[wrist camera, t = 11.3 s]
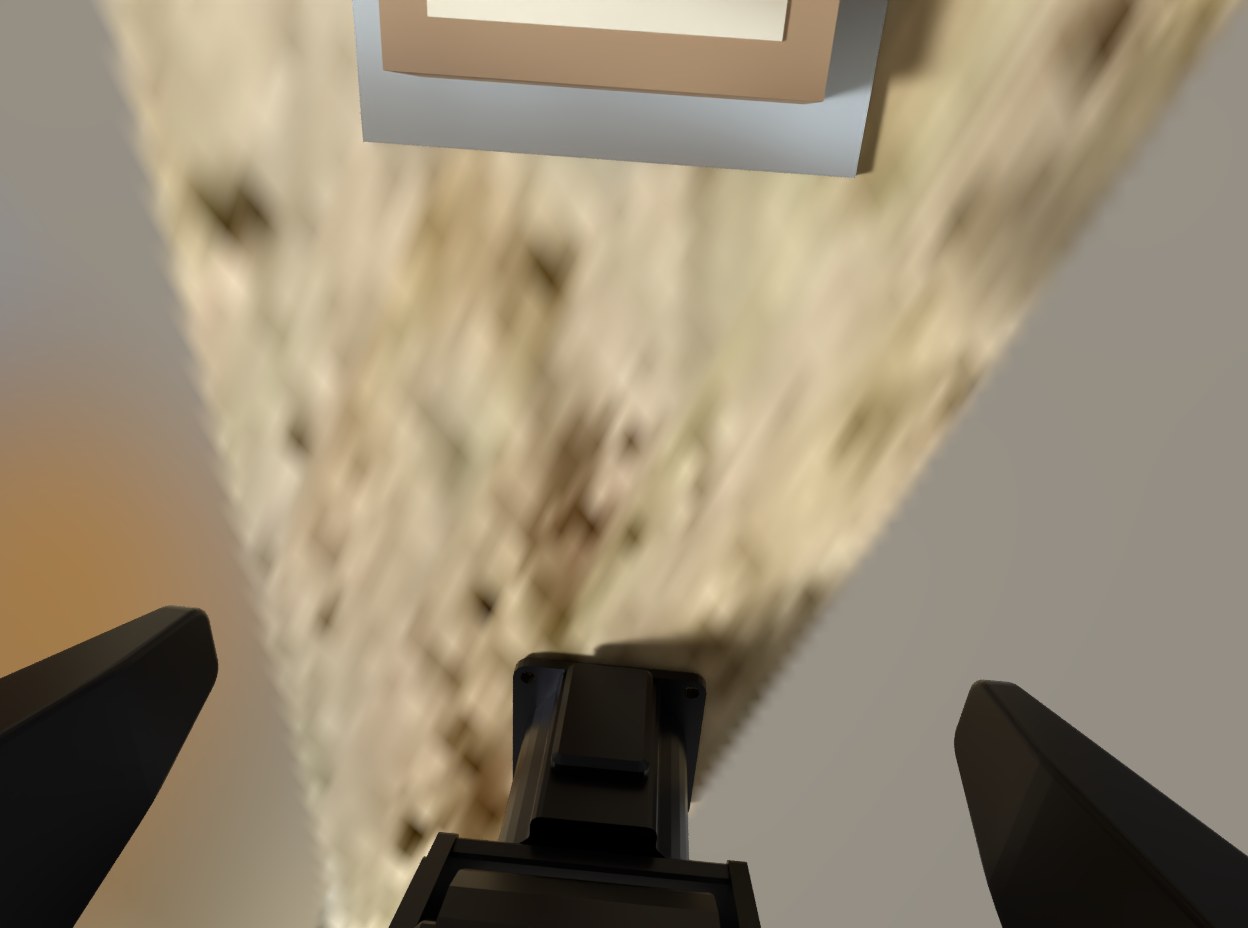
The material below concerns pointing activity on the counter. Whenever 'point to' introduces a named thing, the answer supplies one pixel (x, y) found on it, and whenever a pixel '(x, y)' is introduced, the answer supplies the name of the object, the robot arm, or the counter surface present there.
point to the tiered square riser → (624, 79)
